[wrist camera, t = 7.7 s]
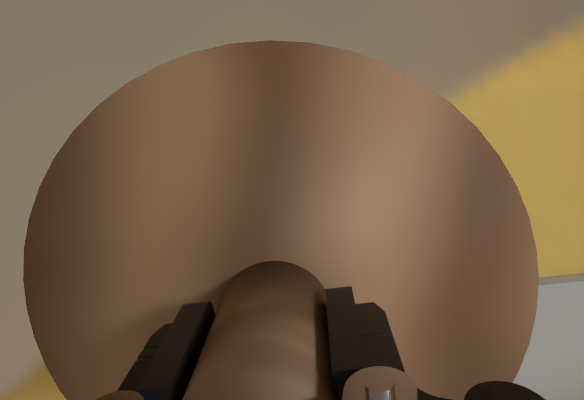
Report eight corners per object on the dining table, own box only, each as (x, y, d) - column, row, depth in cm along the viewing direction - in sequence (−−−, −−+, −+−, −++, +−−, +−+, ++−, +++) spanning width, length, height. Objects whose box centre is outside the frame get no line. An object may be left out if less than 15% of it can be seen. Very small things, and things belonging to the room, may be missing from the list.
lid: (516, 4, 12) (740, -80, 6) (520, 460, 15) (656, 702, 9) (-17, 87, 13) (-310, 92, 7) (112, 493, 16) (-1, 730, 10)
